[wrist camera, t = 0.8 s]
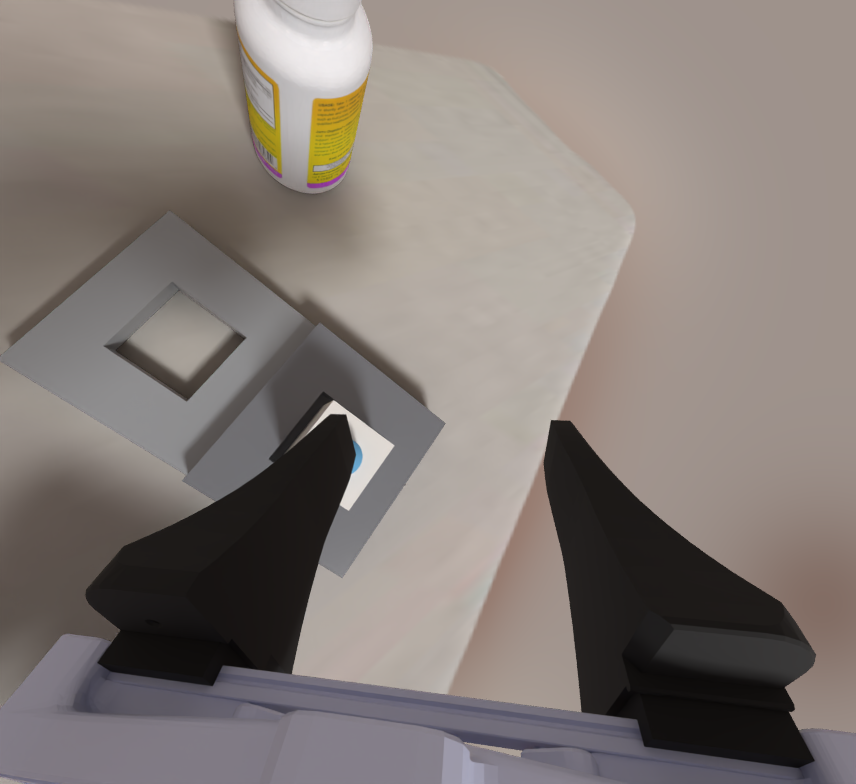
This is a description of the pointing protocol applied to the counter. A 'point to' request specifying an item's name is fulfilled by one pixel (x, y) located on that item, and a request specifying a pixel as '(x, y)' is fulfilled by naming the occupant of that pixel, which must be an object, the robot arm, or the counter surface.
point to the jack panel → (221, 377)
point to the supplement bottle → (304, 85)
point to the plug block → (367, 449)
